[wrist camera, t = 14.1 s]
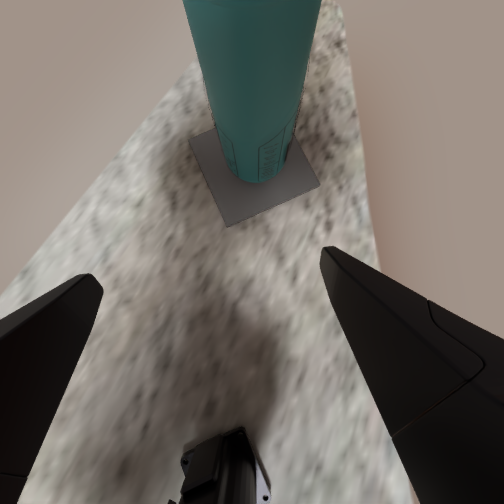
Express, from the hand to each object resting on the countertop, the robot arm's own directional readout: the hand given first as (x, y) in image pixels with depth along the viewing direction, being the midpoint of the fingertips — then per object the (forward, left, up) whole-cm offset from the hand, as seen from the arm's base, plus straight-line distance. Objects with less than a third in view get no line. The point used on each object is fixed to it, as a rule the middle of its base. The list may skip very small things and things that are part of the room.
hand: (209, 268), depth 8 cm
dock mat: (+11, -6, -13) cm, 18 cm away
